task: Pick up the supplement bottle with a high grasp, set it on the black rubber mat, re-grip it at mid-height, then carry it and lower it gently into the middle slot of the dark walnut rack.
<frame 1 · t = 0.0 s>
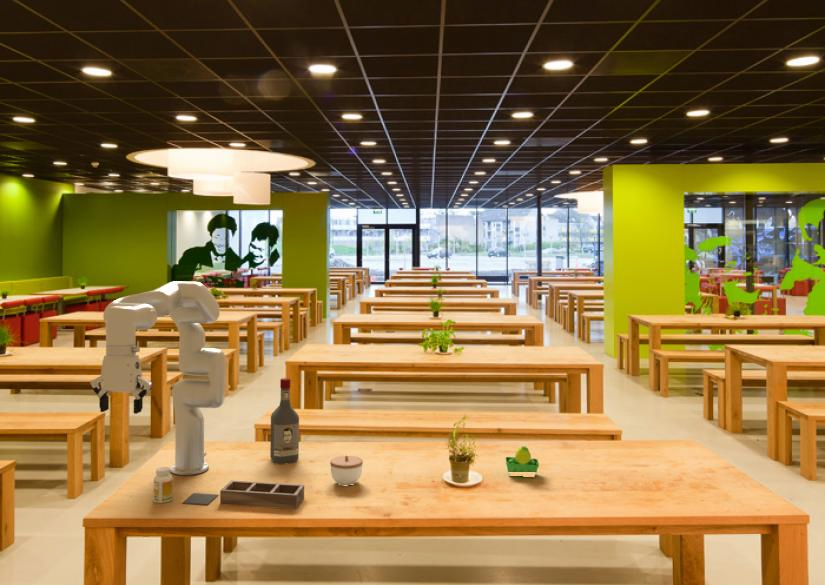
hand: (121, 411, 188), 31 cm above the table, fingers open, 9 cm apart
rack: (262, 501, 208), on the table
mat: (200, 499, 207), on the table
liquor: (284, 460, 248), on the table
lidded jar: (346, 483, 225), on the table
supplement bottle: (163, 500, 207), on the table
fruit basket: (521, 476, 237), on the table
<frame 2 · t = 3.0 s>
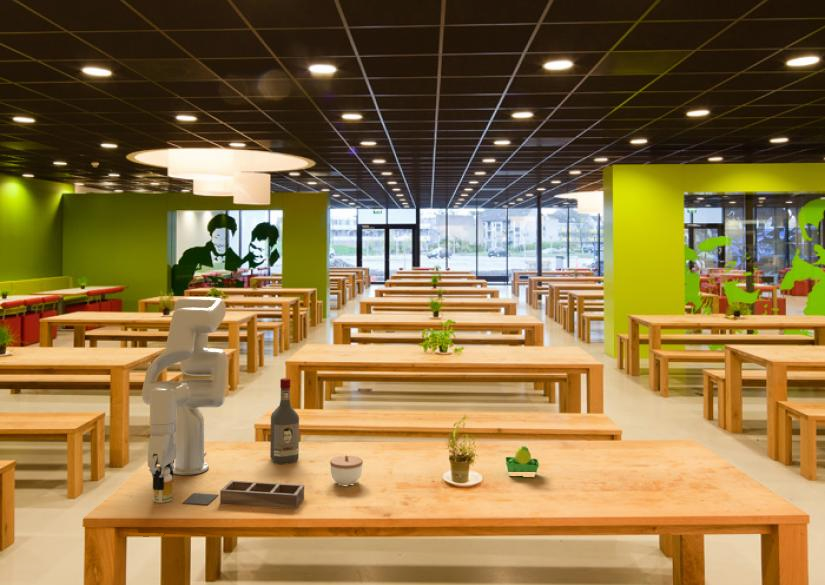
hand: (163, 485, 206), 5 cm above the table, fingers closed on supplement bottle, 5 cm apart
supplement bottle: (163, 500, 207), on the table, touching gripper
everything else where it was.
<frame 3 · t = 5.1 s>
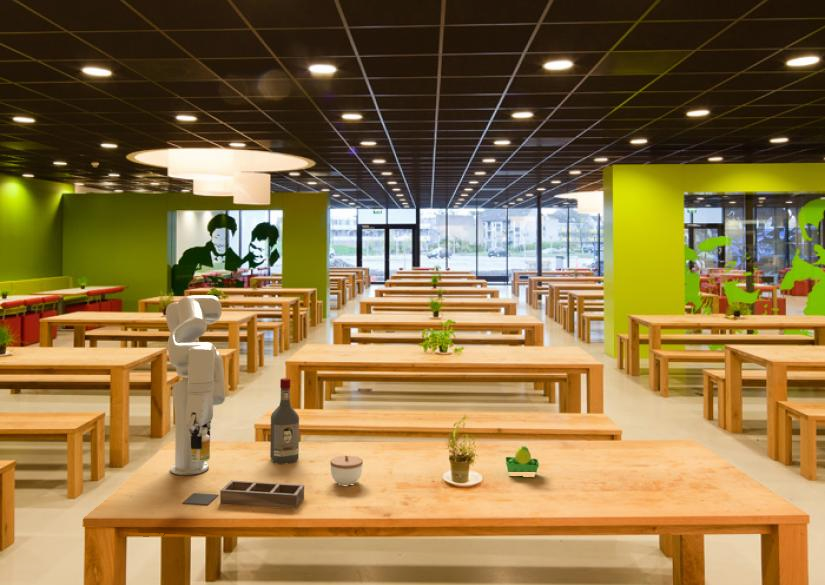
hand: (200, 445, 206), 17 cm above the table, fingers closed on supplement bottle, 5 cm apart
supplement bottle: (200, 460, 207), point 12 cm above the table, touching gripper
everything else where it was.
when the fingers open (6 cm above the table, at t = 7.4 s): supplement bottle stays where it is, resting on mat.
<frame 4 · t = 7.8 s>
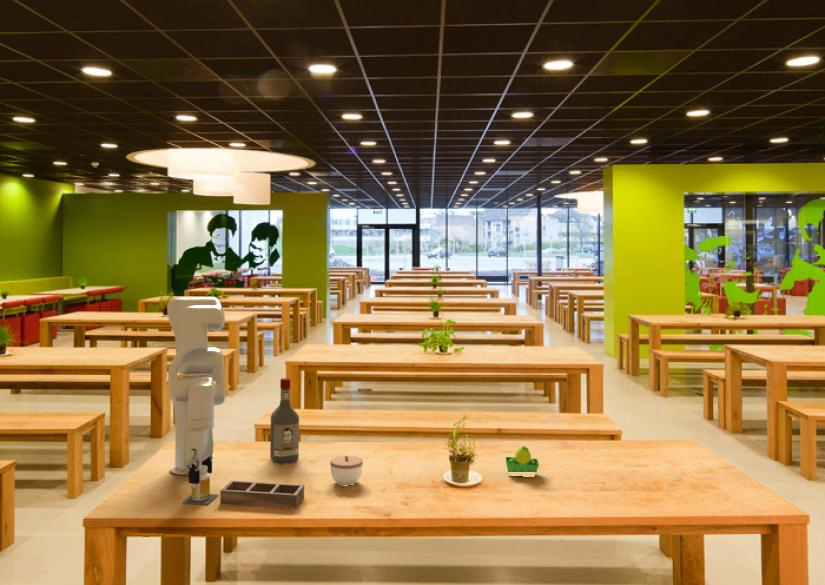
hand: (200, 478, 207), 7 cm above the table, fingers open, 9 cm apart
supplement bottle: (200, 498, 208), resting on mat
everything else where it was.
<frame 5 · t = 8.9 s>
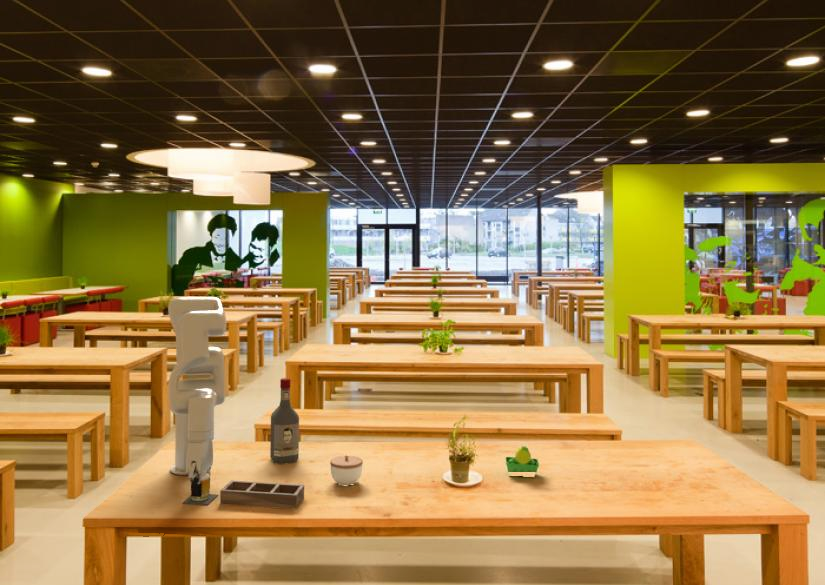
hand: (200, 492, 207), 2 cm above the table, fingers closed on supplement bottle, 5 cm apart
supplement bottle: (200, 498, 208), resting on mat, touching gripper
everything else where it was.
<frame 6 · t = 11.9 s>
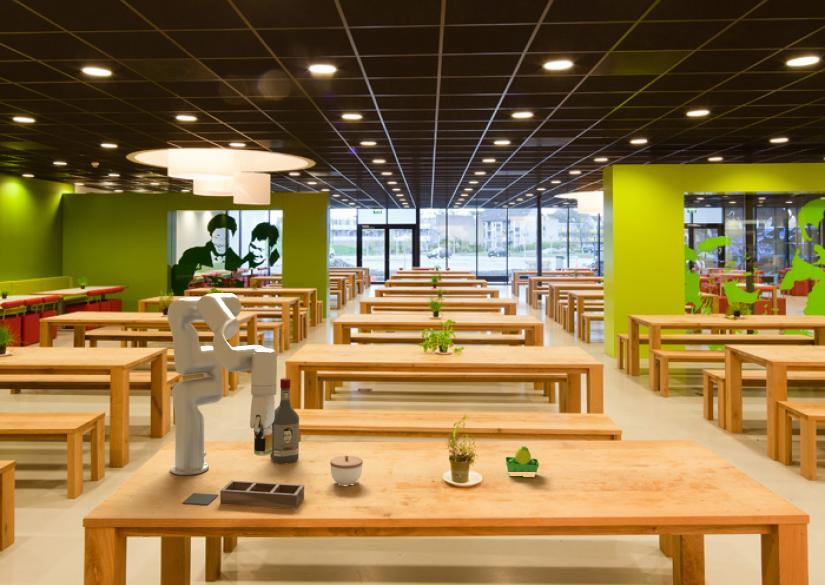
hand: (263, 447, 207), 17 cm above the table, fingers closed on supplement bottle, 5 cm apart
supplement bottle: (263, 454, 207), point 15 cm above the table, touching gripper
everything else where it was.
when the fingers open (5 cm above the table, at t = 14.4 s): supplement bottle drops 1 cm, resting on rack.
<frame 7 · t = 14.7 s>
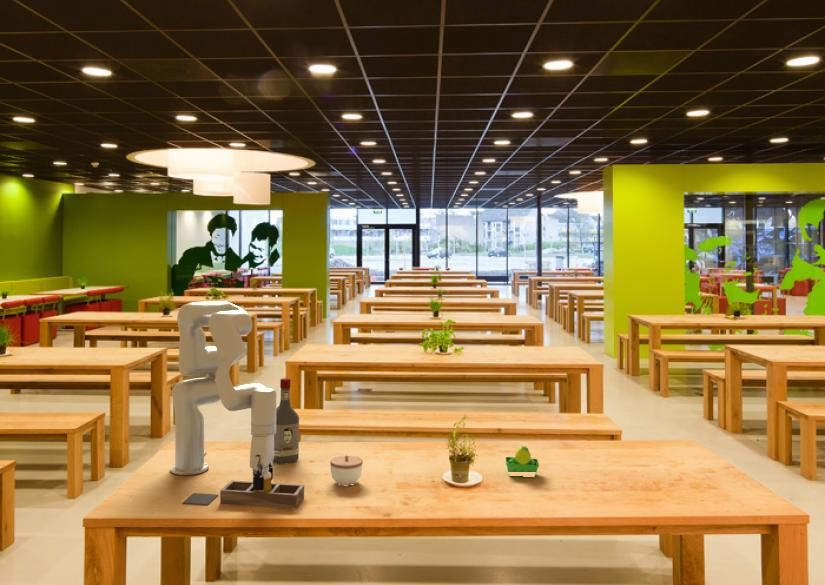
hand: (262, 484, 207), 5 cm above the table, fingers open, 8 cm apart
supplement bottle: (262, 497, 208), point 1 cm above the table, touching rack
everything else where it was.
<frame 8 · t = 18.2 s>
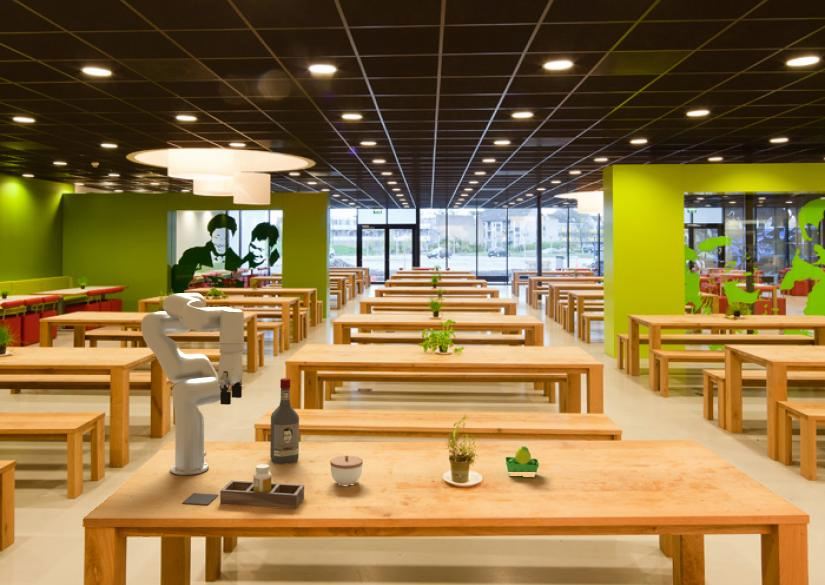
hand: (231, 400, 217), 28 cm above the table, fingers open, 9 cm apart
nothing on the table moved.
at the end: supplement bottle inside the target area on the rack (0.2 cm from its centre), point 1.0 cm above the rack's base; supplement bottle tilted 0°; the gripper is holding nothing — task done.
